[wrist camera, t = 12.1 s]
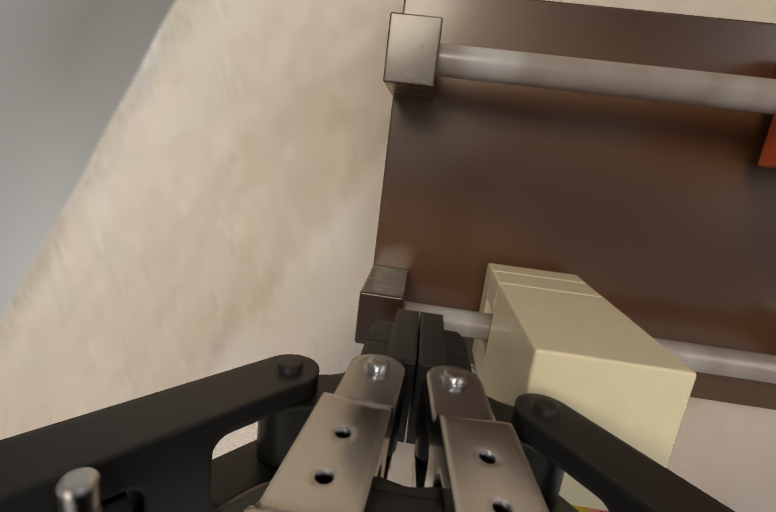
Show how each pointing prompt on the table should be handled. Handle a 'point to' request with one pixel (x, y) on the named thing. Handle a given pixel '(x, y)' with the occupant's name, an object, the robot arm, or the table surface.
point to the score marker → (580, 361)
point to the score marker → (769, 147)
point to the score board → (585, 173)
